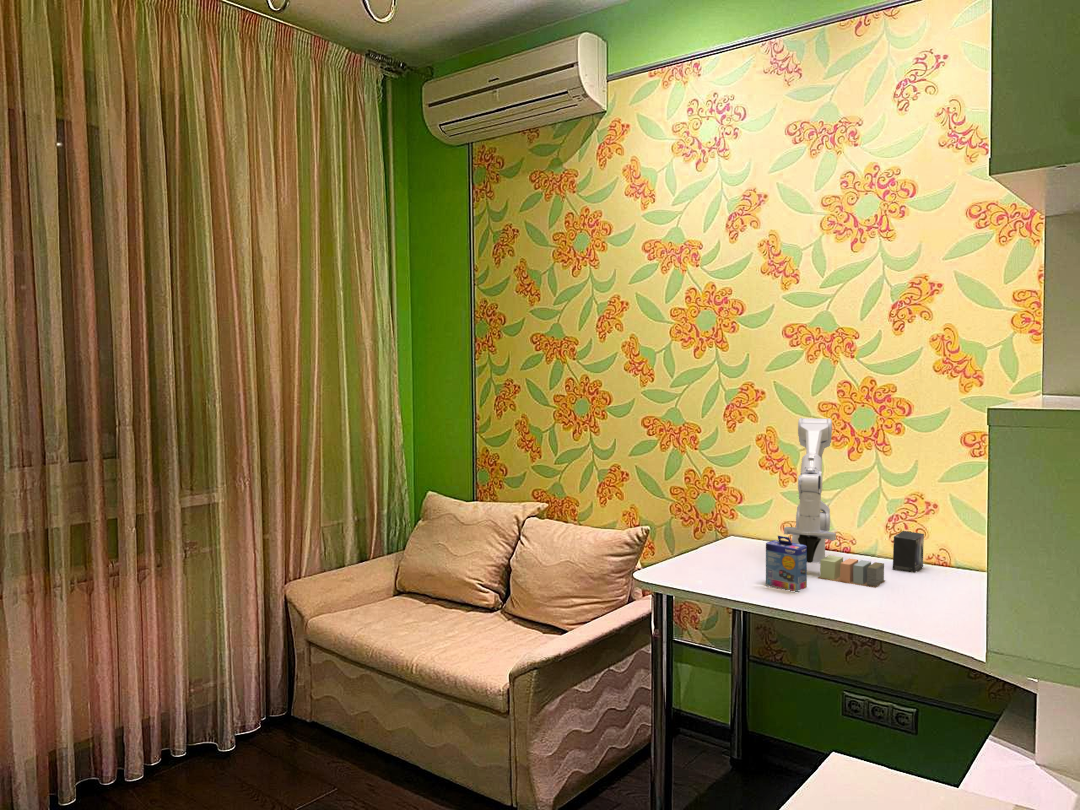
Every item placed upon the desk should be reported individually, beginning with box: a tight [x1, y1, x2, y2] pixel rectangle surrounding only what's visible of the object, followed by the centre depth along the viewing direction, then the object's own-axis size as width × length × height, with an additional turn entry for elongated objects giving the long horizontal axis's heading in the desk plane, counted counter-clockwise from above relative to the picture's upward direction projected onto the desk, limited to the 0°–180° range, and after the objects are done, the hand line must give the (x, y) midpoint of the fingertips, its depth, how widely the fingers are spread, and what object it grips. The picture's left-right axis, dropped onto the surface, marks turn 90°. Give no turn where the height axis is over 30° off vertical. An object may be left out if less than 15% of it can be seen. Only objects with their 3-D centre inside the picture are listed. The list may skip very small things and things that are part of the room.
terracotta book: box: [840, 557, 859, 582], centre depth 232 cm, size 3×7×5 cm, turn 141°
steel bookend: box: [867, 561, 885, 588], centre depth 228 cm, size 2×7×5 cm, turn 141°
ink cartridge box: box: [765, 535, 808, 593], centre depth 226 cm, size 10×6×14 cm, turn 45°
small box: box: [891, 530, 925, 574], centre depth 244 cm, size 11×6×10 cm, turn 143°
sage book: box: [819, 554, 844, 580], centre depth 235 cm, size 4×7×5 cm, turn 141°
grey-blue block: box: [853, 559, 872, 585], centre depth 230 cm, size 3×7×5 cm, turn 141°
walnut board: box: [817, 576, 886, 589], centre depth 232 cm, size 16×9×1 cm, turn 51°
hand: (809, 561), depth 239 cm, fingers closed
